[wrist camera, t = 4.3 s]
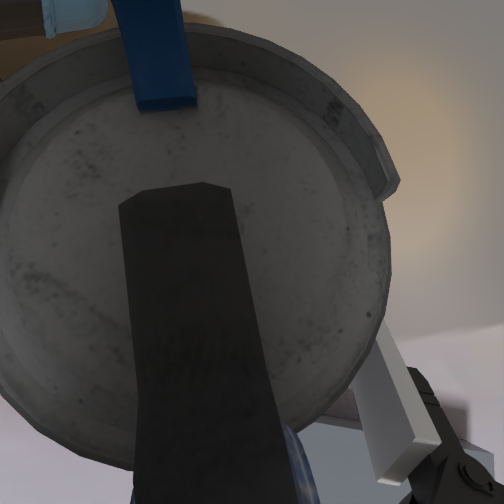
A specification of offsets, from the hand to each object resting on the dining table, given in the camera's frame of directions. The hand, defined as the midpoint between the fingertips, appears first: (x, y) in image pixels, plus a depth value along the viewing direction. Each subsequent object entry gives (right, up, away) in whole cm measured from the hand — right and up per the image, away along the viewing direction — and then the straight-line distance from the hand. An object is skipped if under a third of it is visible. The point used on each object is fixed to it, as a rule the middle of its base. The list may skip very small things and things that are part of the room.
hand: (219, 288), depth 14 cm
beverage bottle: (-2, -4, +13) cm, 14 cm away
